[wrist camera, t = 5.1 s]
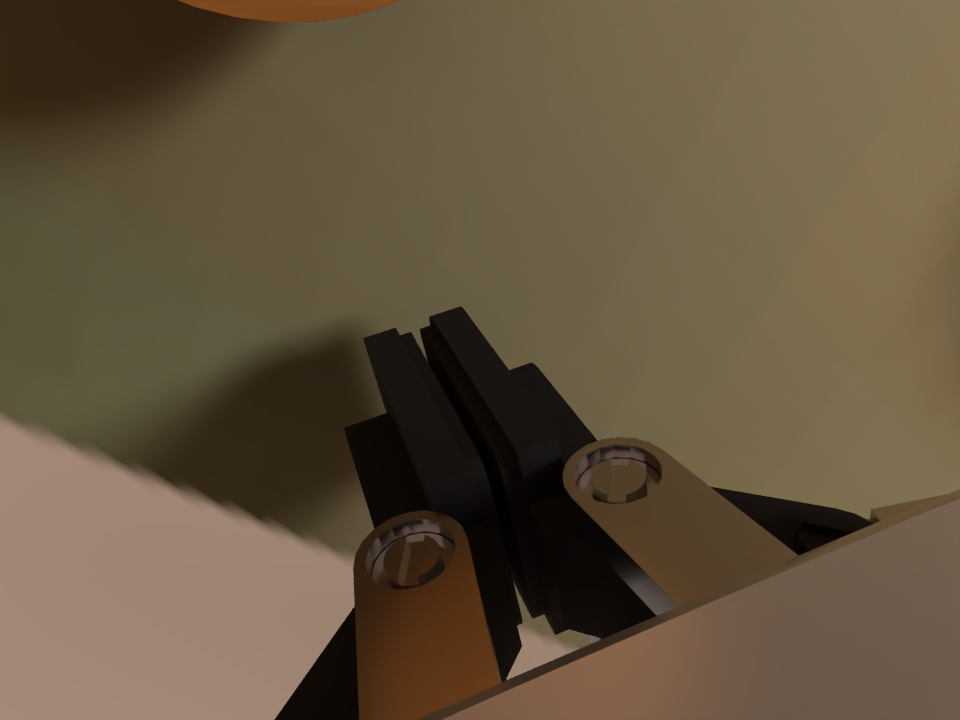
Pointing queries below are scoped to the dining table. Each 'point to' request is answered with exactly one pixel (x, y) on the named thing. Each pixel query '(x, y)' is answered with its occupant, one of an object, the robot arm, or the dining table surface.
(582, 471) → the robot arm
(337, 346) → the dining table surface
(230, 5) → the ball
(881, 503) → the dining table surface
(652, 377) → the dining table surface
